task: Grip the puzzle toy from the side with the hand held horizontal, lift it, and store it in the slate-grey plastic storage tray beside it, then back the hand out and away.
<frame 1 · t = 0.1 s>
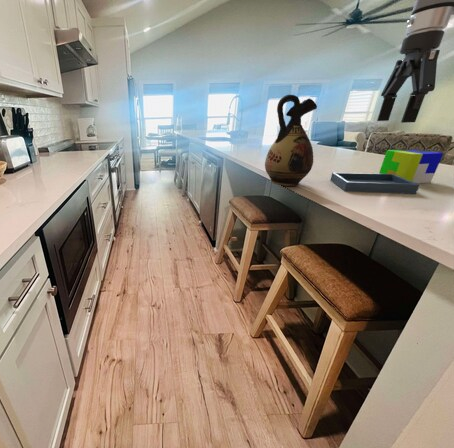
hand: (394, 121, 71), 21 cm above the countertop, tool pointing down, fingers open, 13 cm apart
ceramic jug: (281, 183, 91), on the countertop
storage tray: (368, 186, 83), on the countertop
puzzle toy: (402, 180, 89), on the countertop
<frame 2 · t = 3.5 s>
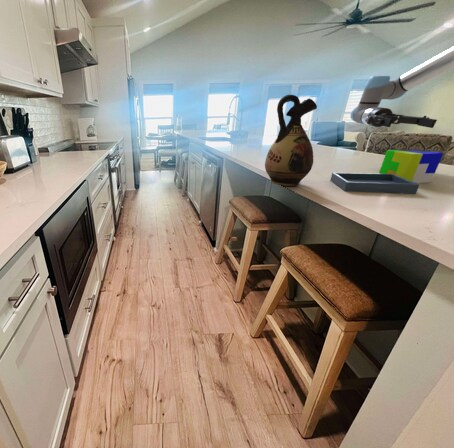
hand: (411, 123, 87), 19 cm above the countertop, tool horizontal, fingers open, 13 cm apart
nothing on the countertop moved.
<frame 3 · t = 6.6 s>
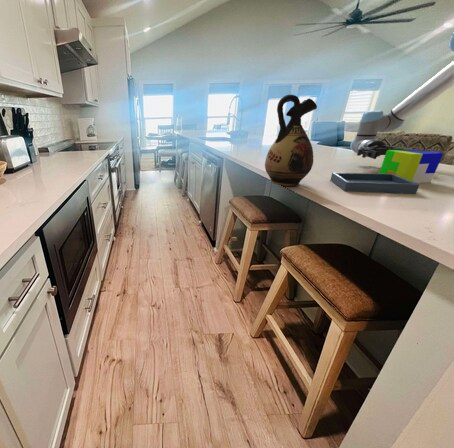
hand: (397, 155, 93), 7 cm above the countertop, tool horizontal, fingers open, 13 cm apart
nothing on the countertop moved.
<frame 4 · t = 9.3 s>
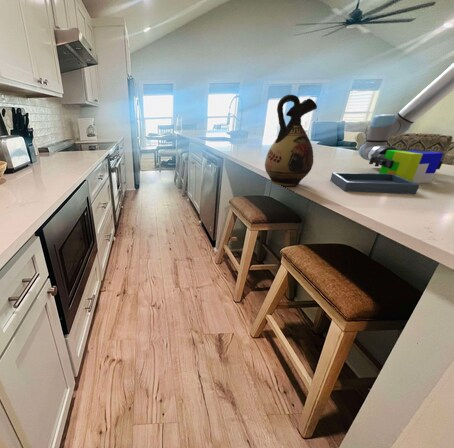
hand: (415, 165, 83), 6 cm above the countertop, tool horizontal, fingers closed on puzzle toy, 12 cm apart
puzzle toy: (402, 180, 89), on the countertop, touching gripper
everything else where it was.
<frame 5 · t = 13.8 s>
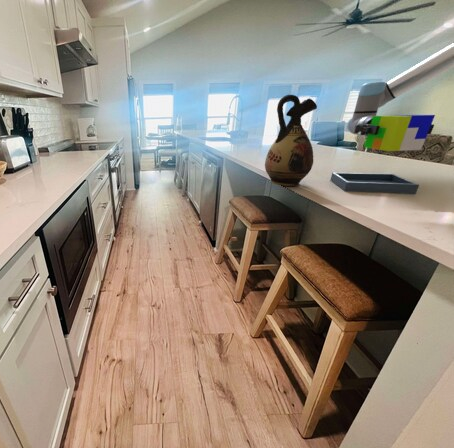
hand: (403, 130, 75), 18 cm above the countertop, tool horizontal, fingers closed on puzzle toy, 12 cm apart
puzzle toy: (390, 149, 80), point 12 cm above the countertop, touching gripper
everything else where it was.
when the fingers open (7 cm above the countertop, at t = 18.3 s): puzzle toy stays where it is, resting on storage tray.
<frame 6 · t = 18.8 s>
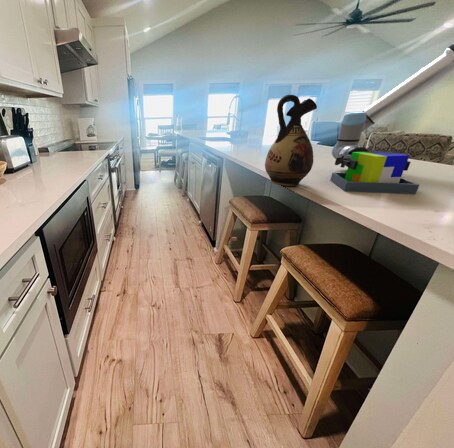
hand: (380, 165, 77), 8 cm above the countertop, tool horizontal, fingers open, 13 cm apart
puzzle toy: (368, 184, 83), point 1 cm above the countertop, touching storage tray
everything else where it was.
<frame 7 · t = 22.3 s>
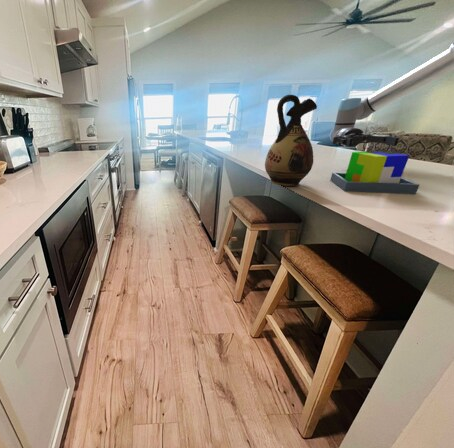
hand: (373, 142, 87), 13 cm above the countertop, tool horizontal, fingers open, 13 cm apart
nothing on the countertop moved.
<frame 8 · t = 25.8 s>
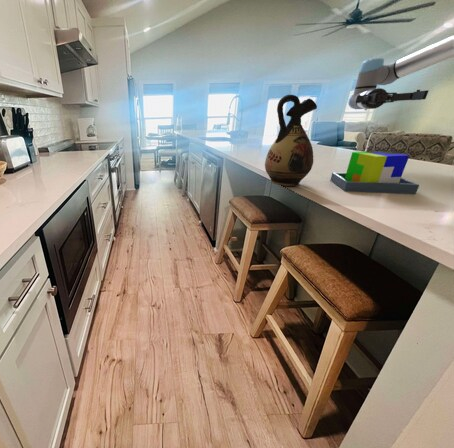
hand: (400, 96, 83), 28 cm above the countertop, tool horizontal, fingers open, 13 cm apart
nothing on the countertop moved.
at the end: puzzle toy inside the target area in the storage tray (0.0 cm from its centre), point 0.8 cm above the storage tray's base; puzzle toy tilted 0°; the gripper is holding nothing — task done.
